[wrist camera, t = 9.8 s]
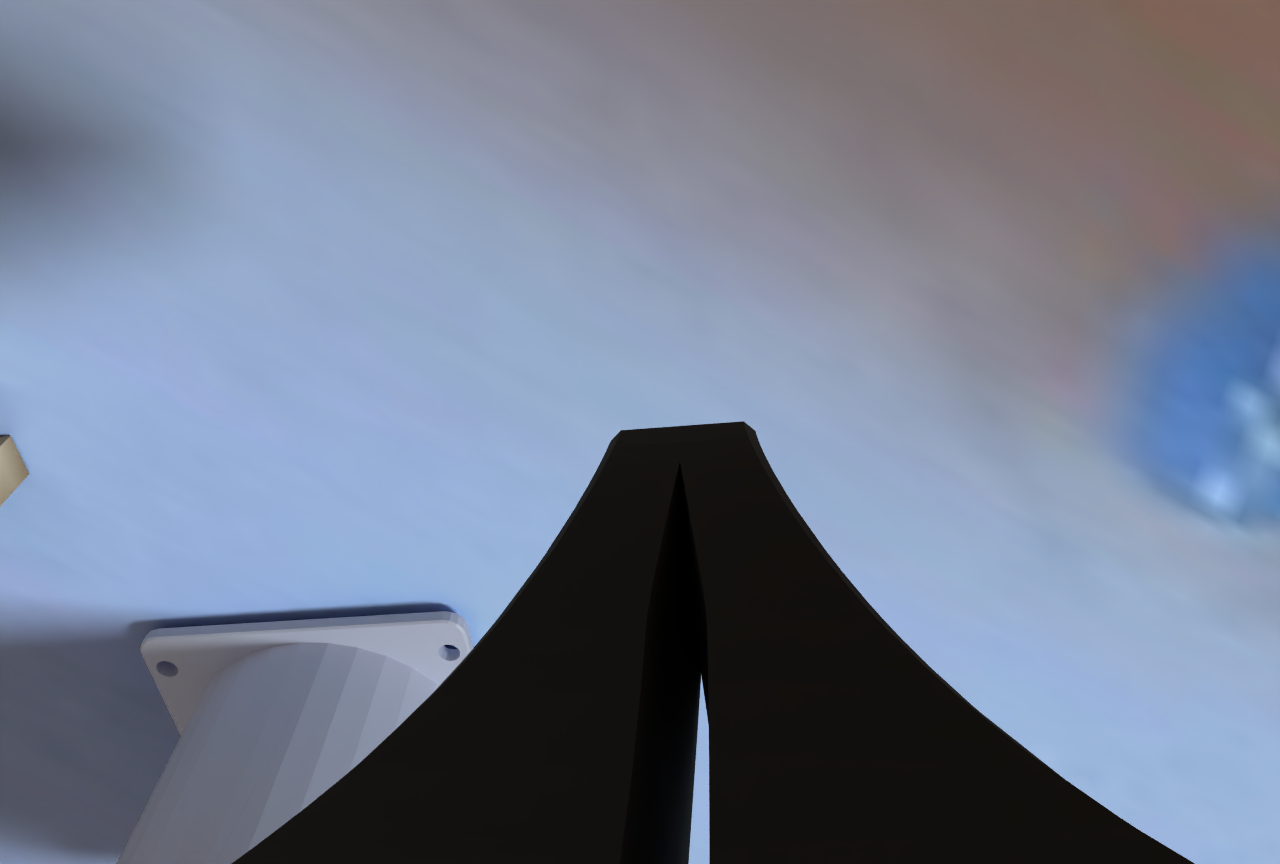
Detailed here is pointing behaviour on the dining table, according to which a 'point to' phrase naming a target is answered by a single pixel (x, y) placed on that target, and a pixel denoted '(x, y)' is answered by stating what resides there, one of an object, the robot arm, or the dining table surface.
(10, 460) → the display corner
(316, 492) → the dining table surface
